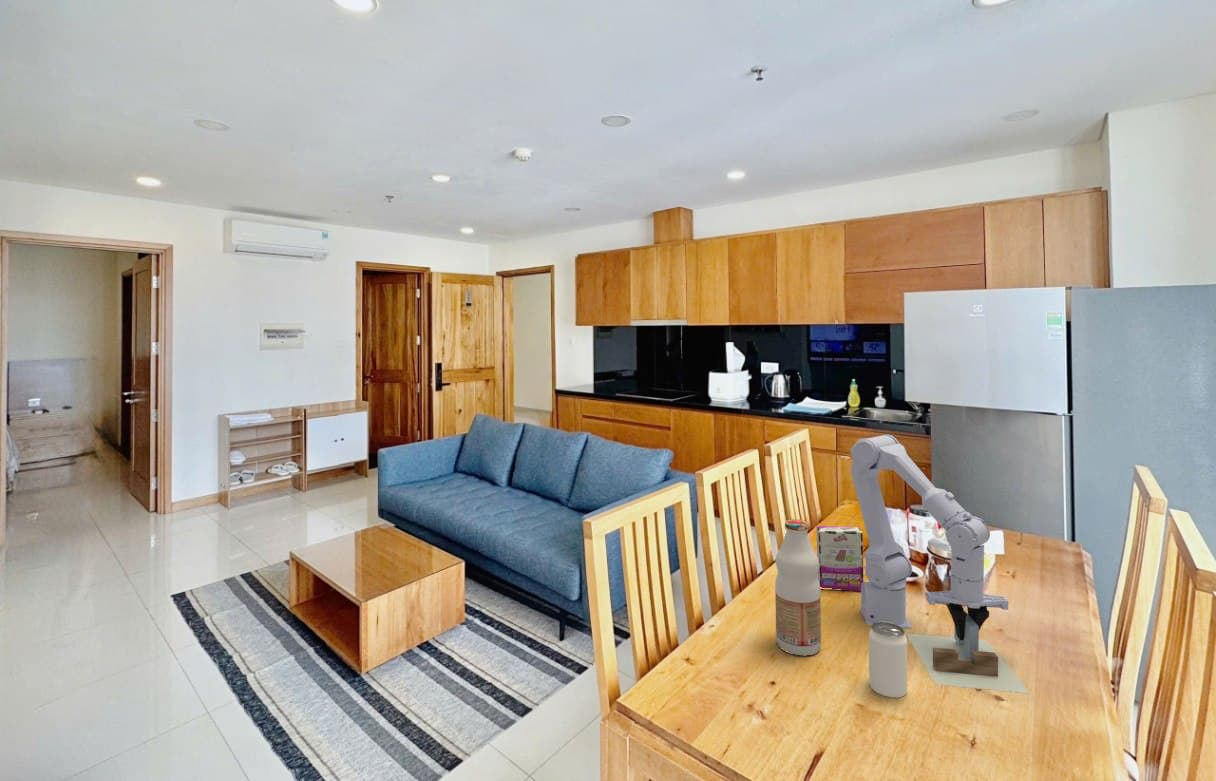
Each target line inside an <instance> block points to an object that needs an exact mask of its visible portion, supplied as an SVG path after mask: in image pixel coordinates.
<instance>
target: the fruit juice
mask: <svg viewBox="0 0 1216 781" xmlns="http://www.w3.org/2000/svg"><path fill="white" fill-rule="evenodd" d="M784 528H785V531H786V532H785V535H784V536H783V540H782V543H781V546H780V547H779V550H778V551H777V553H776V555H775V566H776V569H777V575H776V578H775V584H774V585H775V587H774V588H775V589H774V592H775V595H774V597H775V638H776V640H775V641H776V643H778V644H777V646H778V645H779V646H780V647H781V648H783V649H784V650H786V651H788V652H790V653H792V654H791V655H793V654H796V655H795V656H797V655H803V656H802V657H807V656H806V655H811V656H814V655H816V654H818V653H819V652H818V651H821V645H822V626H821V625H822V622H821V621H822V620H821V619H822V617H821V614H822V613H821V612H822V611H821V608H822V607H821V606H822V604H821V603H822V602H821V589H820V583H819V580H818V571H819V559H818V556H817V552H815V550H814V547H813V544H812V541H811V540H810V537H809V534H808V531H809V528H810V526H809V522H808V521H806V520H804V519H803V520H802V519H797V518H792V519H787V520H785V522H784ZM779 646H778V647H779ZM780 647H779V648H780ZM781 648H780V649H781ZM817 652H818V653H817ZM790 653H789V654H790ZM813 654H814V655H813ZM804 655H805V656H804Z"/></svg>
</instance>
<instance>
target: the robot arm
mask: <svg viewBox="0 0 1216 781" xmlns="http://www.w3.org/2000/svg"><path fill="white" fill-rule="evenodd" d="M850 455H851V458H852V460H851V467H850V473H851V478H852V482H853V485H854V491H855V492H856V497H857V498H856V499H857V502H858V505H859V508H860V512H861V516H862V519H863V524H864V528H865V532H866V535H867V539H868V542H869V545H868V548H867V550H866V552H865V553H864V558H865V559H864V560H865V567H864V573H865V576H866V578H867V579H868V581H863V582H862V583H861V592H860V613H861V615H862V617H863V619H864V621H865V624H866V625H867V626H868V627H871V626H872V624H873V623H875V622H890V623H893V624H896V625H898V626H900V627H901V628H903V629H912V625H911V624H910V622H909V620H908V619H907V617H906V614H907V613H906V612H907V610H906V609H907V608H906V605H907V604H906V603H907V602H906V601H907V600H906V599H907V597H906V596H907V595H906V593H907V592H906V589H907V586H906V585H907V579H908V578H909V577H910V576H912V575H911V574H913V566H912V562H911V560H910V558H908V556H907V555H906V553H905V552H904V551H905V550H904V548H903V546H902V545H900V543H897V542H896V541H895V538H894V534H893V531H892V530H893V529H892V526H891V522H890V519H889V516H888V515H889V514H888V512H887V508H886V505H885V501H884V497H883V494H882V489H881V486H880V482H879V479H878V475H879V474H880V473H881V471H882V470H883V469H884V470H889V471H894V472H895V473H896V474H898V476H899V477H900V478H902V479H903V481H905V483H907V485H909V486H910V487H911V488H912V489H913V490H914V491H915V492H916V493H917V494H918V495H919V496H920V497H921V506H922V507H923V508H924V509H925V510H926V511H927V512H928V513H929V515H931V517H933V518H934V520H935V521H936V522H937V523H938V524H939V525H940V526H941V528H943V530H945V531H946V532H945V534H944V536H945V539H946V541H947V543H948V544H949V545H950V556H951V557H950V559H951V560H950V590H943V591H942V590H941V591H927V592H926V602H927V603H928V604H929V605H931V606H933V605H936V604H937V605H945V606H946V607H947V609H948V612H949V614H950V616H951V619H952V620H953V626H954V630H955V629H956V634H957V637H958V638H959V639H960V640H964V635H965V634H964V625H965V619H966V615H967V614H966V613H965V611H966V610H965V609H964V607H963V606H966V608H967V613H968V615H969V616H970V617H971V618H972V619H973V621H974V622H975V623H976V624H977V625H978V627H979V631H980V630H981V628H982V627H983V625H984V623H985V622H986V620H988V619H989V617H990V611H989V610H988V608H993V609H994V608H996V609H998V608H999V609H1001V610H1007V611H1008V610H1009V600H1008V599H1007V598H1005V597H1004V596H999V595H993V594H992V595H991V594H986V593H984V584H985V582H984V581H985V580H984V577H985V576H984V575H985V573H984V572H985V545H984V544H986V543H987V542H988V541H989V540H990V536H991V532H990V529H989V527H988V525H987V524H986V523H985V521H984V520H983V519H982V518H979V517H977V516H973V515H972V514H971V513H970V512H969V511H967V510H965V508H963V506H961V505H960V503H959V502H958V501H956V499H954V498H955V495H954V494H953V493H952V492H951V491H947V490H946V489H944V488H943V489H942V488H937V487H935V485H933V483H932V482H931V481H930V479H928V478H927V476H926V475H925V474H924V473H923V471H922V470H921V469H920V468H919V467H918V465H916V463H915V462H914V461H913V460H912V459H911V457H910V456H909V455H908V453H907V451H906V449H905V446H904V445H903V444H901V443H899V441H898V439H897V438H896V437H894V436H893V435H891V434H887V433H886V434H882V435H879V436H873V437H868V438H860V439H858V440H856V442H855V443H854V444H853V445H852V447H851V448H850ZM963 609H964V610H965V611H964V610H963Z"/></svg>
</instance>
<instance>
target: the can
mask: <svg viewBox="0 0 1216 781" xmlns="http://www.w3.org/2000/svg"><path fill="white" fill-rule="evenodd" d="M870 627H871V629H870V630H869V632H868V633H869V634H868V674H869V676H868V680H869V681H868V682H869V686H870V688H871V689H872V690H873V691H874V692H875V693H877V694H879V695H881V696H884V697H888V698H893V699H895V698H902V697H904V696H906V695H907V692H908V639H907V635H906V633H905V630H904V628H901V627H900V626H898V625H896V624H893V623H890V622H875V623H873V624H872V626H870Z"/></svg>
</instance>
